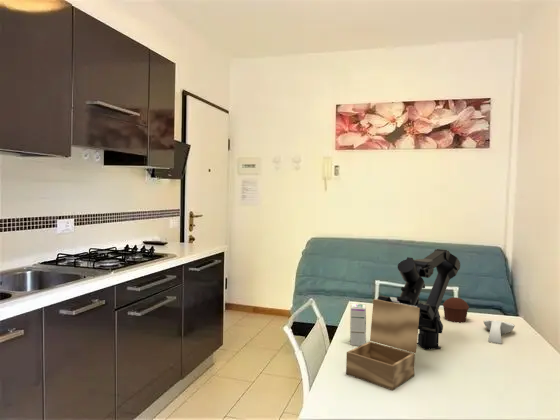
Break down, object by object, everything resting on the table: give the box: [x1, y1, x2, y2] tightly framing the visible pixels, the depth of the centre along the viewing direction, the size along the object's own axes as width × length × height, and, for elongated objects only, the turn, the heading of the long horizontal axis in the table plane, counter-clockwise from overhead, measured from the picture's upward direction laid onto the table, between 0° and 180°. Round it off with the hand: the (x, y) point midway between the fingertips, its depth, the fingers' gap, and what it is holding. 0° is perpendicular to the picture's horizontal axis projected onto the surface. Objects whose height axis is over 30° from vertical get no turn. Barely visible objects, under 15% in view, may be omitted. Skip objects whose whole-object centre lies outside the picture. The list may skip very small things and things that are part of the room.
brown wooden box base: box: [345, 341, 416, 391], centre depth 135 cm, size 14×16×7 cm
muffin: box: [442, 297, 470, 324], centre depth 198 cm, size 12×11×10 cm
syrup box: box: [349, 303, 367, 347], centre depth 164 cm, size 6×6×14 cm
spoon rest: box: [483, 319, 516, 345], centre depth 177 cm, size 24×12×7 cm, turn 150°
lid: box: [369, 298, 420, 354], centre depth 141 cm, size 14×16×1 cm
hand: (395, 328), depth 142 cm, fingers closed
